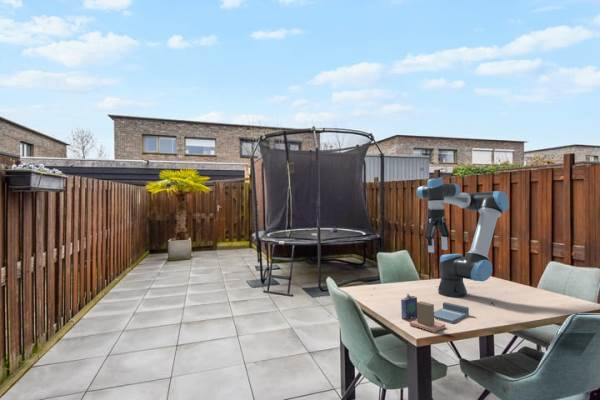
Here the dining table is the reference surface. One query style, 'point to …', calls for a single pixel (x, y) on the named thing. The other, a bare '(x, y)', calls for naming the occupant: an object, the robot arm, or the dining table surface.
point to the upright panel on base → (426, 318)
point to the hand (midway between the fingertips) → (438, 250)
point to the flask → (409, 307)
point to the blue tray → (451, 312)
